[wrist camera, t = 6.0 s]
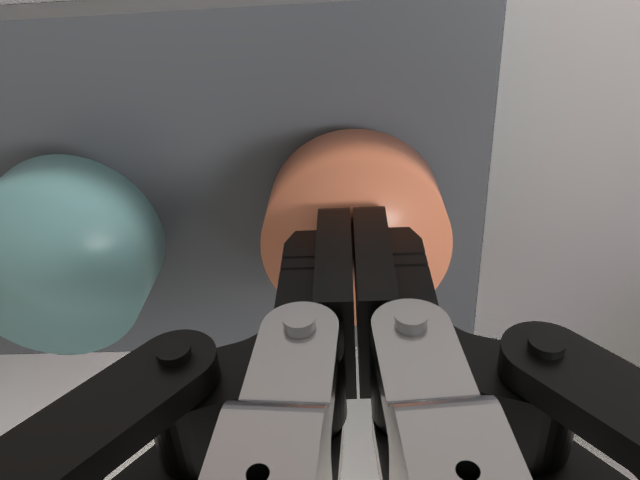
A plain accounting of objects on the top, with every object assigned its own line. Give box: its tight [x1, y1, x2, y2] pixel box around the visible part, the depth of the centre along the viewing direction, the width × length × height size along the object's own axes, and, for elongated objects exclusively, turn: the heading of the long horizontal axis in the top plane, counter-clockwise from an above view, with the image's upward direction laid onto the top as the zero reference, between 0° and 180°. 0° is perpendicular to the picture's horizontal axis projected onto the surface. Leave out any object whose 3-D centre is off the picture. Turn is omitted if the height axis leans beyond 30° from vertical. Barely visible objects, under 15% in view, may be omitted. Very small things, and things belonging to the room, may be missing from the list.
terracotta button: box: [260, 129, 453, 325], centre depth 14 cm, size 4×4×2 cm
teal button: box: [0, 154, 165, 355], centre depth 14 cm, size 4×4×2 cm
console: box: [0, 0, 507, 354], centre depth 17 cm, size 21×10×3 cm, turn 93°
